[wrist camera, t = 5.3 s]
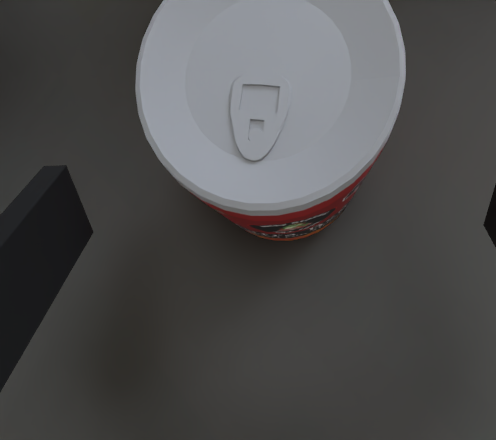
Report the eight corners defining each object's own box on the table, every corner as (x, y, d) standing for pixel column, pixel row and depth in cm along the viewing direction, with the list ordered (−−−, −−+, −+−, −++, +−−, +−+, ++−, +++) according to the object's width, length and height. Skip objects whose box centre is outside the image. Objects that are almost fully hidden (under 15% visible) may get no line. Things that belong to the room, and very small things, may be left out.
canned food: (224, 253, 23) (148, 235, 12) (203, 109, 24) (116, -30, 13) (373, 229, 22) (439, 184, 11) (343, 80, 23) (377, -94, 12)
